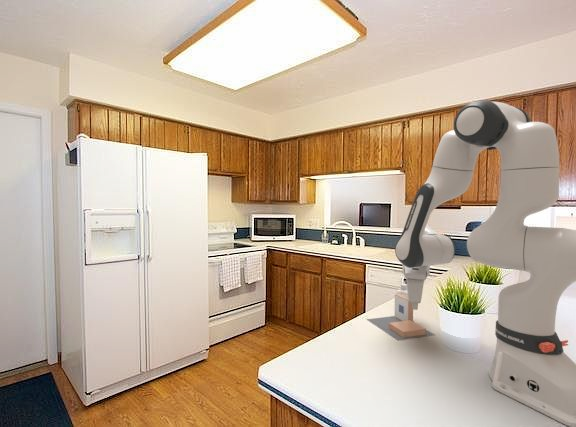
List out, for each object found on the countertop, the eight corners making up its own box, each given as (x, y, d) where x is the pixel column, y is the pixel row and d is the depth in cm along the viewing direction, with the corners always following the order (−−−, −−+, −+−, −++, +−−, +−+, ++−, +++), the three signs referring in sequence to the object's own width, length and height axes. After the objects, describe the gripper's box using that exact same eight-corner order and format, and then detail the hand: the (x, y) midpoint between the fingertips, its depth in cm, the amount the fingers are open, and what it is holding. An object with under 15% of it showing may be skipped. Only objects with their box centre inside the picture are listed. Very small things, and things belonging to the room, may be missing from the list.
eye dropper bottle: (405, 312, 125) (406, 283, 124) (394, 308, 130) (394, 280, 129) (412, 310, 127) (412, 282, 127) (401, 306, 132) (401, 279, 132)
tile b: (412, 324, 111) (413, 300, 111) (408, 324, 111) (408, 300, 110) (398, 316, 119) (399, 293, 119) (394, 317, 118) (394, 294, 118)
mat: (435, 335, 102) (435, 335, 102) (398, 341, 97) (398, 340, 97) (399, 316, 120) (399, 315, 120) (366, 320, 116) (366, 319, 116)
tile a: (426, 328, 102) (403, 331, 99) (426, 334, 102) (403, 338, 99) (410, 320, 110) (388, 322, 107) (409, 325, 110) (388, 328, 107)
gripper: (407, 263, 116) (406, 298, 116) (404, 274, 97) (403, 316, 97) (425, 264, 113) (424, 301, 113) (425, 276, 94) (425, 319, 95)
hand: (415, 308), depth 105 cm, fingers closed
